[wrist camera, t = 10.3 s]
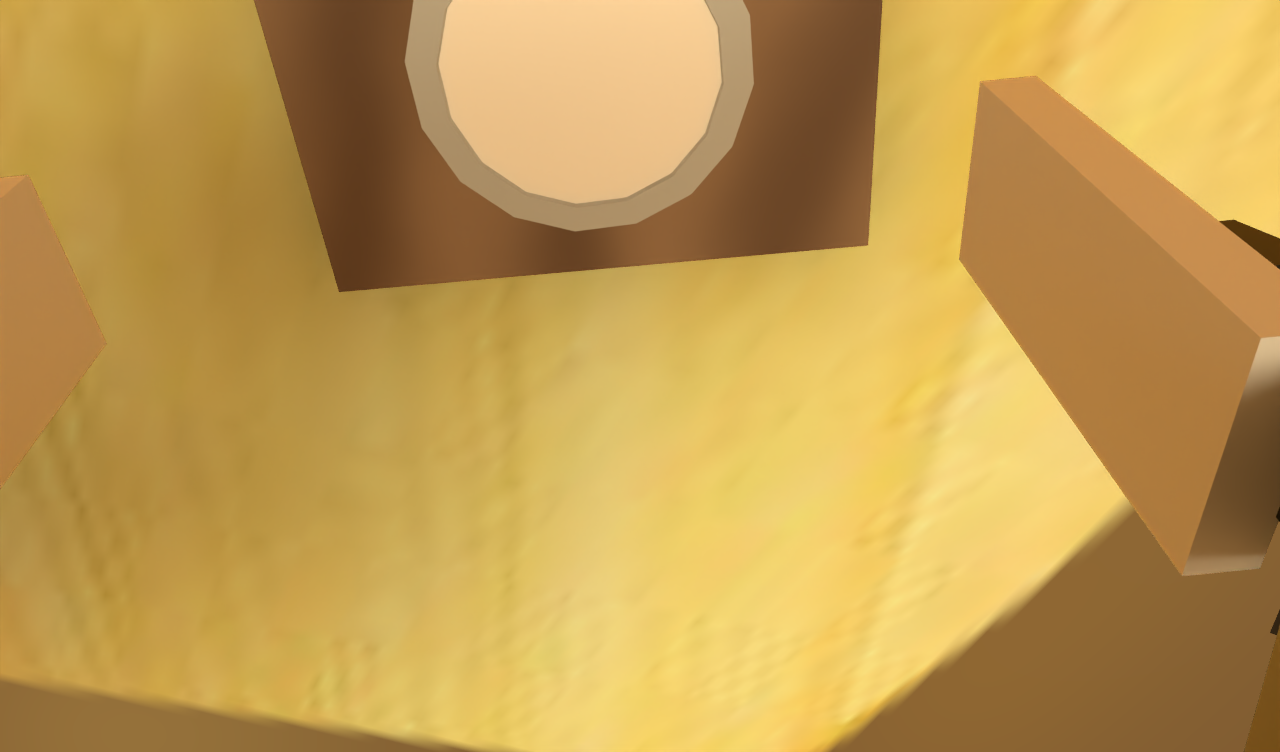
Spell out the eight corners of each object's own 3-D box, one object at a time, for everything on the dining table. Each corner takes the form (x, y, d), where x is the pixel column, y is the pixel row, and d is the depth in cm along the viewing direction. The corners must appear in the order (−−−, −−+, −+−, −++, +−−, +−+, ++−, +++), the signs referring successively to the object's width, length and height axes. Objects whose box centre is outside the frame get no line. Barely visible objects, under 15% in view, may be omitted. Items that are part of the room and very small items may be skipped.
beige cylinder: (644, 161, 28) (656, 281, 22) (410, 52, 26) (356, 152, 20) (769, -76, 24) (823, -8, 18) (511, -223, 22) (481, -197, 16)
